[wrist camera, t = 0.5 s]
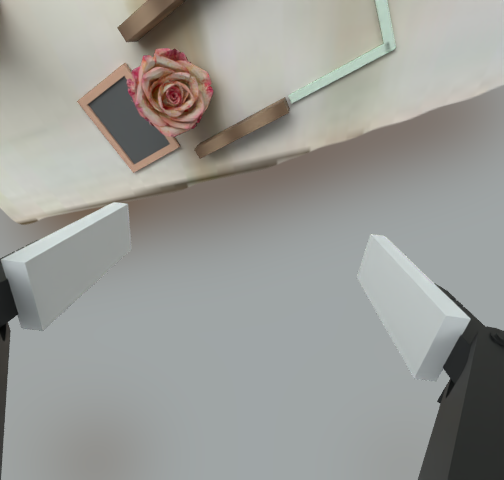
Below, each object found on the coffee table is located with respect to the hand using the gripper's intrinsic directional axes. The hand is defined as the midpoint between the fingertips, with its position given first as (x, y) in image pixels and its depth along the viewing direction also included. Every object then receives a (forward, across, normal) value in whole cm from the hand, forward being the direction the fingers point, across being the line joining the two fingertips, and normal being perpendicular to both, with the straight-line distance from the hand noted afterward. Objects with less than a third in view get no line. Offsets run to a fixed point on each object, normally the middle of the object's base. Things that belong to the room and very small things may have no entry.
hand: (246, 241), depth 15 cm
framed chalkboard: (+29, -20, +4) cm, 36 cm away
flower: (+27, -11, +9) cm, 31 cm away
